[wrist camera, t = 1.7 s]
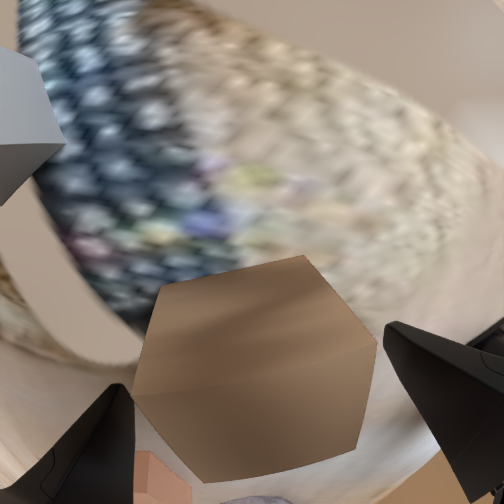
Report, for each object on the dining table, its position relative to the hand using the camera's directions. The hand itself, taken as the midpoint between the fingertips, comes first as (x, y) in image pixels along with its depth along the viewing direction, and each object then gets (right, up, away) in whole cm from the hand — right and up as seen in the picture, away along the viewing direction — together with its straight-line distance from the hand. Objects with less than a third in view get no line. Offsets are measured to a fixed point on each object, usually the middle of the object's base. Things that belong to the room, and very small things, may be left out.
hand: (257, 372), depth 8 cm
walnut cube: (0, +1, +2) cm, 2 cm away
